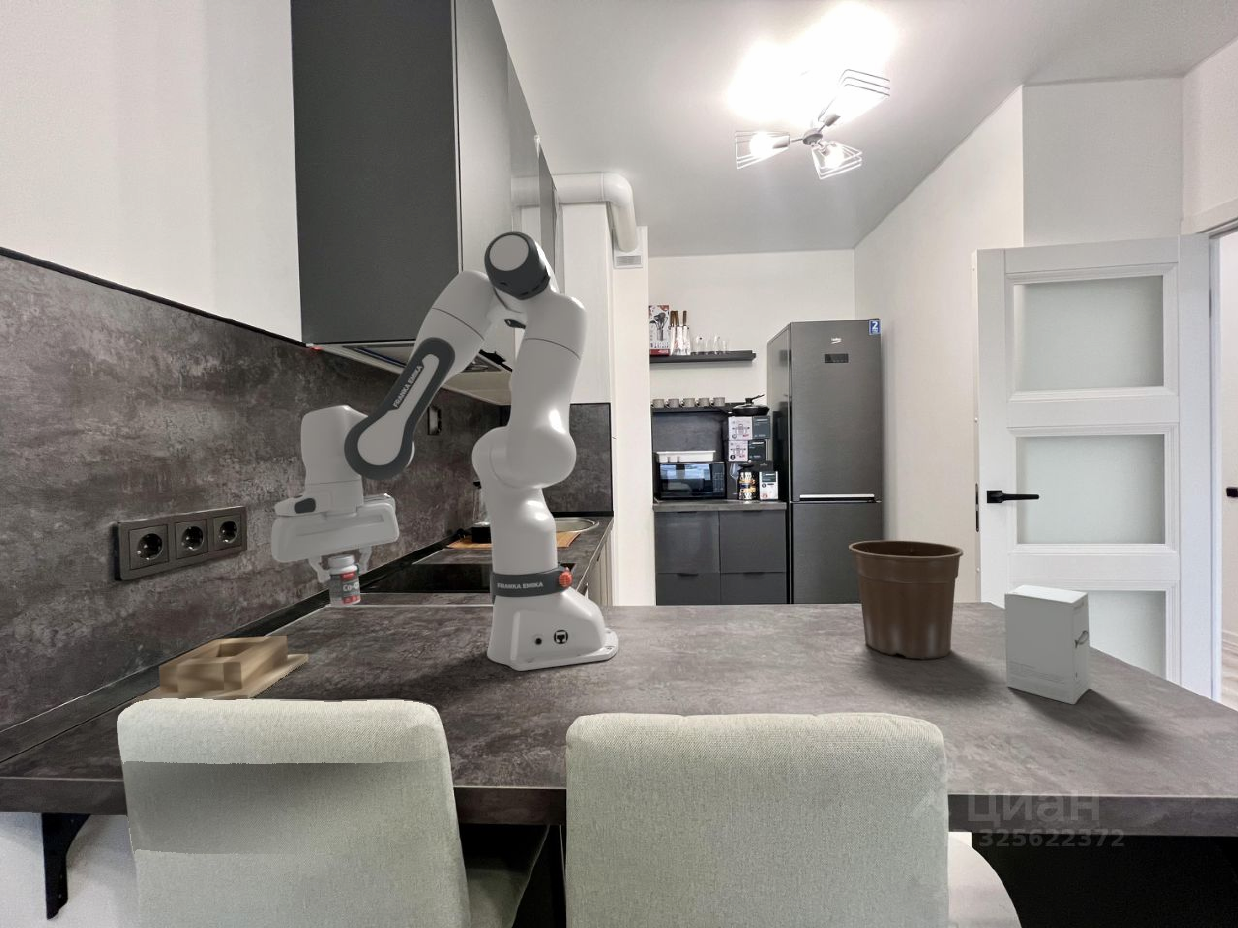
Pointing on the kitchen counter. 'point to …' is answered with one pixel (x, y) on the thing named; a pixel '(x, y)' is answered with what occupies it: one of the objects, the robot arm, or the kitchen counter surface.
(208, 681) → the birch socket block
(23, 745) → the kitchen counter surface
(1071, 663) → the supplement box
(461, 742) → the kitchen counter surface
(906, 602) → the plant pot
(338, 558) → the pill bottle
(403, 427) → the robot arm
